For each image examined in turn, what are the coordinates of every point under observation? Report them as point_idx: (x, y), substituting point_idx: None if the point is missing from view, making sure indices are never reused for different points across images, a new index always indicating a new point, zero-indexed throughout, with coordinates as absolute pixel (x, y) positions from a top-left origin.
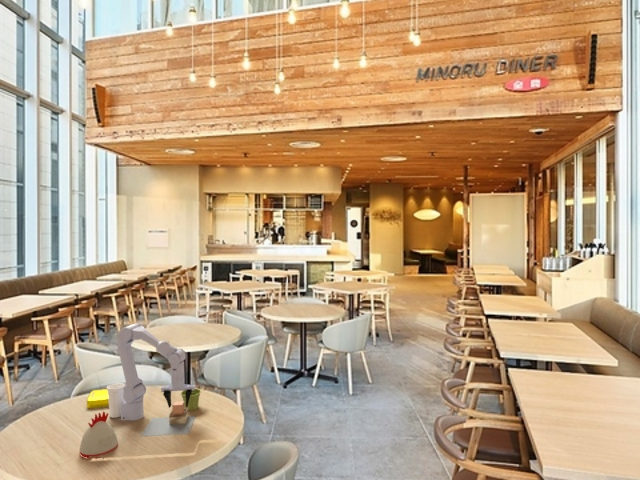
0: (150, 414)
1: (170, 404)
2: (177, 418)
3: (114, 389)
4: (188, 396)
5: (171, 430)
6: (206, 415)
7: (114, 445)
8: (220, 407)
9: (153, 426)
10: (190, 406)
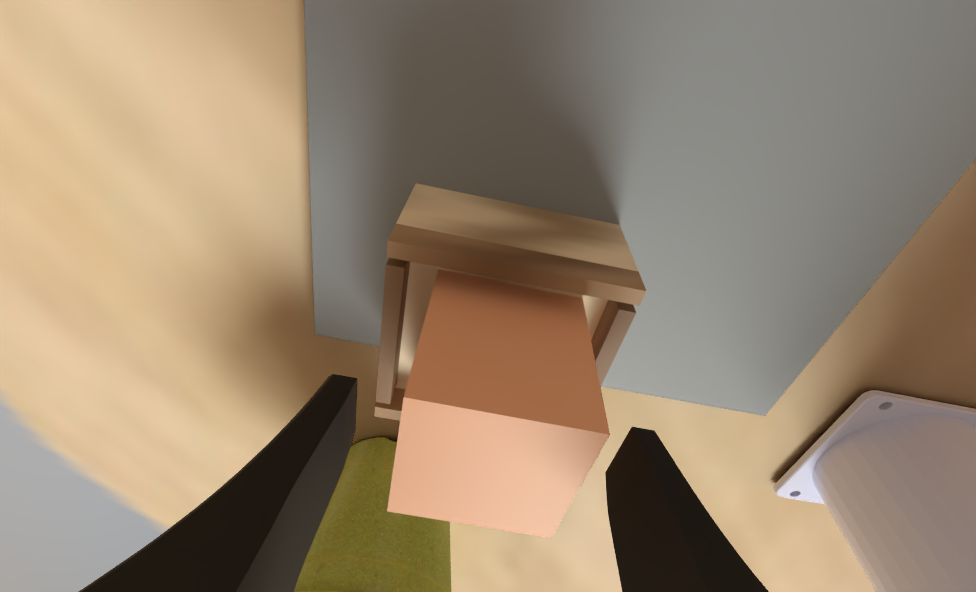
0: (734, 486)
1: (629, 482)
2: (514, 235)
3: None
4: (147, 571)
5: None
6: (228, 340)
7: None
8: (148, 438)
9: (826, 219)
10: (382, 480)
